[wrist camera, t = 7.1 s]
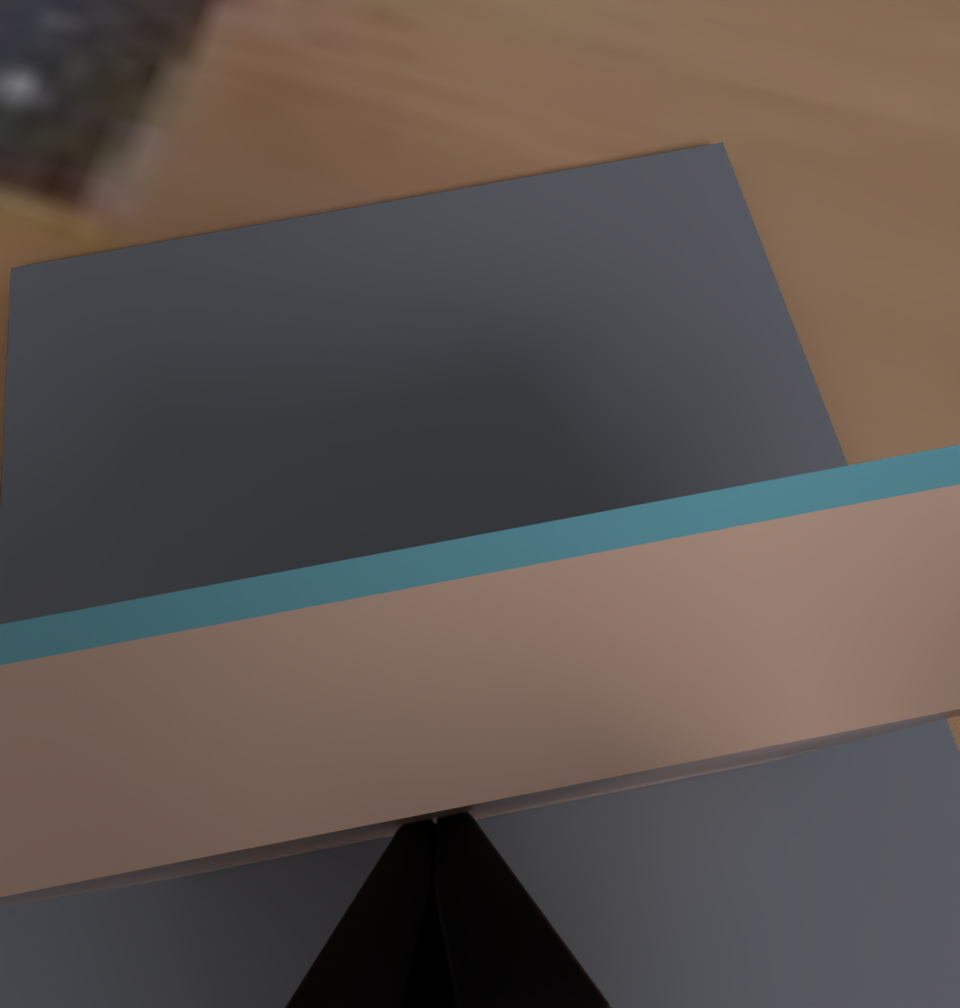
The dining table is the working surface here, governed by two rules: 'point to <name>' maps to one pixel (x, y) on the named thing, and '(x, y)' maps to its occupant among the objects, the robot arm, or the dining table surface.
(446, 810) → the tile
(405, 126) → the dining table surface
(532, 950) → the robot arm
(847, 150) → the dining table surface
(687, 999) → the mat
